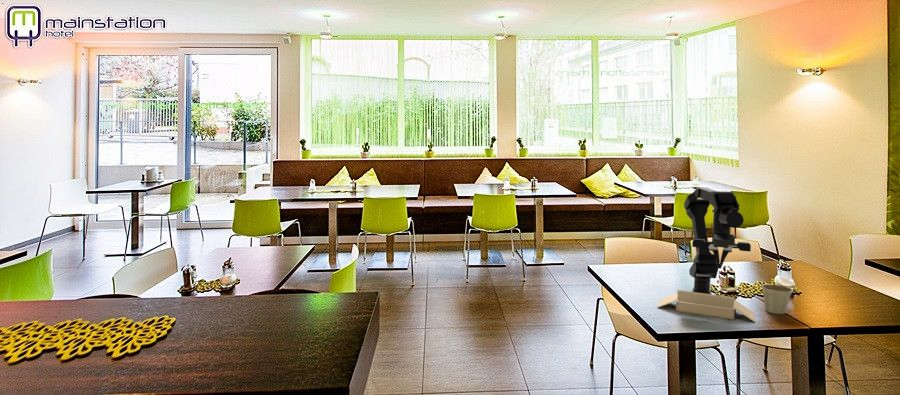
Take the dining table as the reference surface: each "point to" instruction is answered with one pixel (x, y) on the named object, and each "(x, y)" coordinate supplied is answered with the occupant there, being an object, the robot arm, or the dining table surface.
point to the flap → (706, 299)
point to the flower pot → (776, 298)
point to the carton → (707, 308)
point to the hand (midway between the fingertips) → (719, 268)
